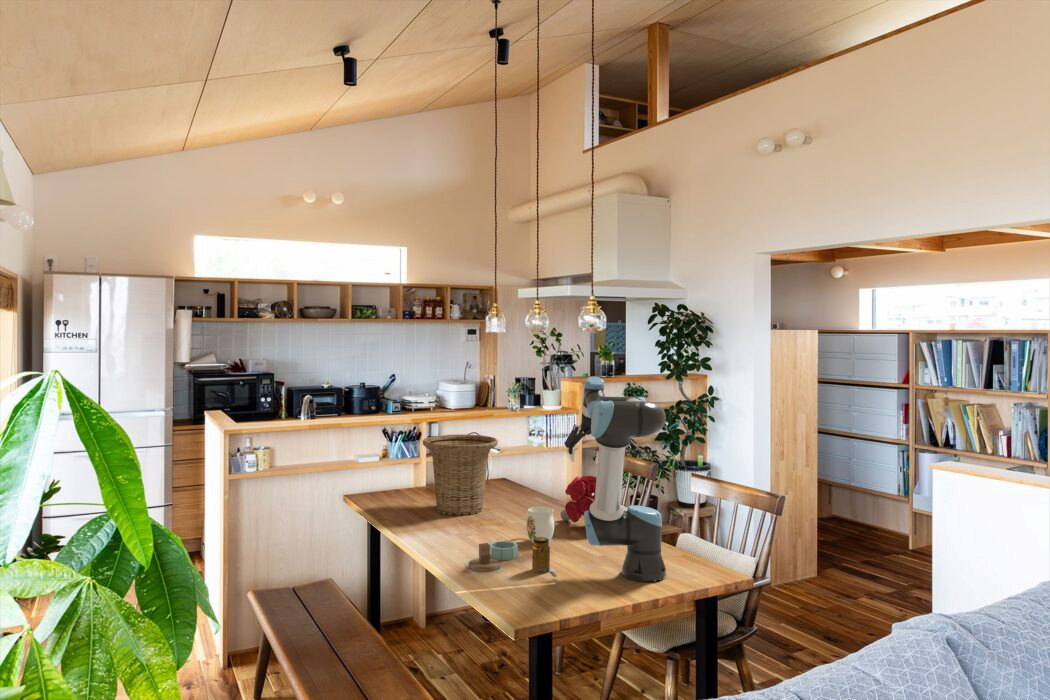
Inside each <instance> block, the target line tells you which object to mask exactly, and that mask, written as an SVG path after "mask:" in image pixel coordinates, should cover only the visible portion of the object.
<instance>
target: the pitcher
mask: <svg viewBox="0 0 1050 700" xmlns="http://www.w3.org/2000/svg"><path fill="white" fill-rule="evenodd" d="M554 510H555V509H554V508H552V507H547V506H533V507H529V508H528V509H527V514H526V532H527V536H528V538H529V540H530V542H531V544H533V545H534V539H535V538H537V537H544V538H548V540H549V543H550V542H551V541H552V539H553V535H554V533H555V520H554V512H555V511H554Z"/></svg>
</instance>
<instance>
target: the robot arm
mask: <svg viewBox="0 0 1050 700" xmlns="http://www.w3.org/2000/svg"><path fill="white" fill-rule="evenodd" d="M604 389H605V381H604V380H603V379H602V378H600V377H598V376H589V377H587V378H586V379H585V380H584V385H583V399H582V400H583V401H582V408H581V409H582V411H581V412H582V413H581V421H580V422H581V423H580V425H577V424H575V423H574V424H573V426H572V429H571V431H570V433H569V435H568V436H567V438H566V440H565V442H564V446H565V447H566V449H568V451H567V452H568V454H569V459H570V461H571V462H572V463H573V462H575V455H576V453H575V452H576V449H575V446H577V444H578V443H579V442H580V441H581V440H582V439H583V438H584V437H586V436H589V435H591V436H592V437H593V438H594V439H595V442H596V444H598V454H597V455H598V456H597V457H598V458H597V469H596V477H597V479H596V492H595V493H594V494H595V502H593V503H592V504H591V505H590V510H589V511H585V512H584V515H583V518H584V526H585V532H586V533H585V534H586V539H587V542H588V544H589V545H591V546H598V547H603V546H609V547H610V546H612V547H613V546H627V547H626V549H627V551H626V555H625V557H624V559H623V563H622V566H621V575H622V576H623V577H624V578H626V579H628V580H631V579H632V580H631V581H635V580H637V581H636V582H641V581H655V580H660V579H662V578H664V577H665V576H666V577H667V568H666V565H665V563H664V558H663V555H662V531H663V530H662V528H663V522H662V515H661V513H660V512H659V511H658V510H657V509H654V508H653V507H649V506H648V507H647V506H644V505H643V506H642V505H637V504H636V505H628V507H627V509H626V510H624V507H623V506H622V505H621V496H622V488H623V487H622V486H623V478H624V477H623V476H624V466H625V457H626V455H625V454H626V448H627V447H629V446H630V445H631V442H632V438H645V437H646V438H647V437H650V436H654V435H655V434H657V433H658V432H660V431H661V430H662V429H663V427H664V426H665V424H666V420H667V416H666V412H665V410H664V408H663V407H662V406H661V405H659V404H657V403H656V402H652V401H647V400H646V398H645V397H644V396H605V393H604ZM666 577H665V578H666ZM665 578H664V579H665ZM660 581H661V580H660ZM655 582H656V581H655Z"/></svg>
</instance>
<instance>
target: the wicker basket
mask: <svg viewBox="0 0 1050 700" xmlns="http://www.w3.org/2000/svg"><path fill="white" fill-rule="evenodd" d="M498 443H499V442H498V439H497V438H495V437H493V436H489V435H479V434H442V435H434V436H428V437H426V438H424V439H423V440H422V445H423V446H424V447H425V448H426V449H428V450H429V451H430V452H431V456H432V464H433V465H432V468H433V477H434V478H433V480H434V481H433V482H434V491H435V492H434V493H435V501H436V511H437V512H438V513H441V514H443V515H445V514H446V515H449V516H453V515H455V516H458V515H459V516H461V515H463V516H468V515H469V514H470V515H472V514H473V515H475V514H479V513H480V512H483V507H484V499H485V488H486V479H487V472H488V471H487V469H488V462H489V461H488V460H489V453H490V451H491V450H492V449H494V448H495V447H496V446H498Z"/></svg>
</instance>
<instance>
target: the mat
mask: <svg viewBox="0 0 1050 700" xmlns="http://www.w3.org/2000/svg"><path fill="white" fill-rule="evenodd" d="M463 564H464V566H465V567H466V568H467V570H468V572H469V573H470V575H477V574H489V573H501V572H506V571H505V569H504V568H503V566H502V565H501V564H500V568H499V569H498V570H496V571H492V572H476V571H472V570H470V569H469V562H464V563H463Z"/></svg>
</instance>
